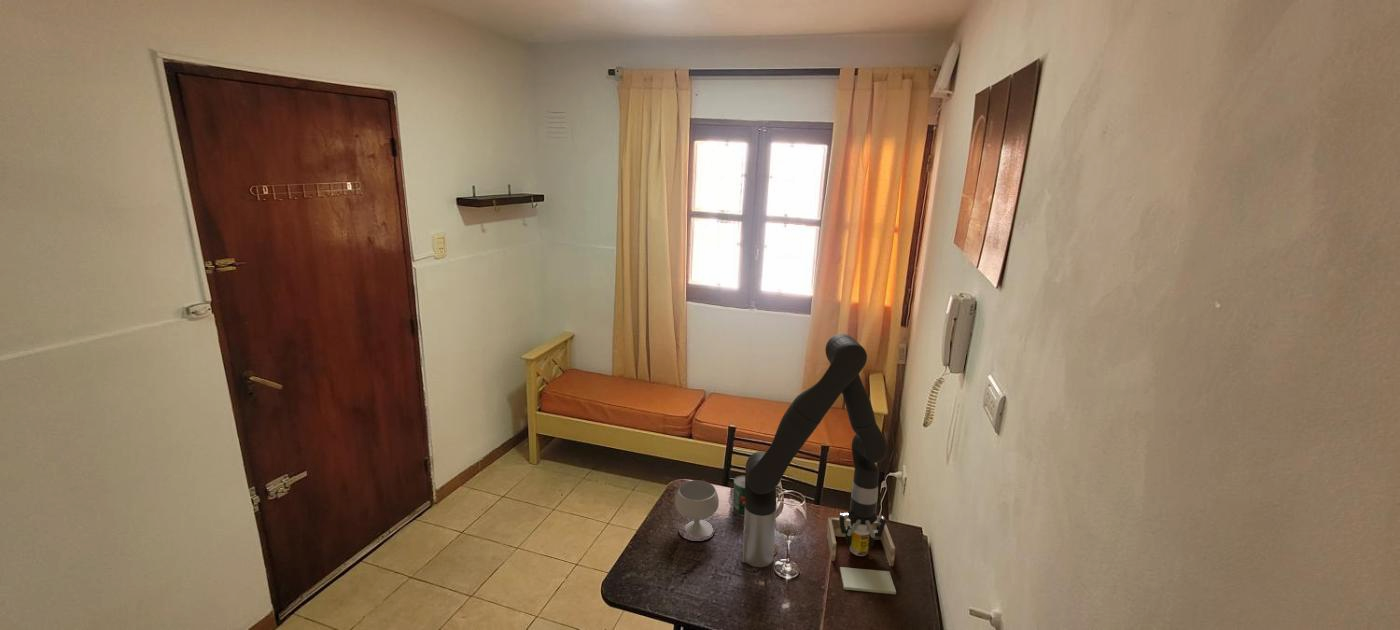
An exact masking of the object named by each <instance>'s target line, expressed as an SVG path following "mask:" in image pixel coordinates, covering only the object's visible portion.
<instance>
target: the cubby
mask: <svg viewBox="0 0 1400 630" xmlns="http://www.w3.org/2000/svg"><path fill="white" fill-rule="evenodd" d="M826 522H827V523H826V538H827V544H828V549H829V554H830V555H829V556H830V560H831V561H833V562H835V561H836V553H837V552H836V551H837V541H836V537H841V538H845V537H846V534H845V533H844V534H843V533H842V532H841V528H840V521H839V517H831V516H828V517H827V520H826ZM849 522H850V519H849V518H847V519H846V521H844V524H845V527H846V528H847V526H848V525H849ZM877 525H878V522H877V520H876V521H875V522H874V523H873V524H872V525H871V526H872V528H873V530H876V528H877ZM875 540H876V541H878V540H879V541H881V545H882V547H883V550H884V553H885V556H886V559H887V562H888V564H889V566H890V567H894V563H895V555H896V552H895V551H896V547H895V544H894V541H893V539H892V535H891V534H890V530H889V529H888V526H887V522H886V523H885V526H884V529H883V532H882V535H881V537H878V536H876V537H875V538H874V541H875Z"/></svg>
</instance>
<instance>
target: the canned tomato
mask: <svg viewBox="0 0 1400 630" xmlns="http://www.w3.org/2000/svg"><path fill="white" fill-rule="evenodd" d="M732 496H733V497H732V498H733V501H732V503H733V504H732V511H733V510H734V511H733V512H734V514H736V513H737V514H736V515H738V514H739V515H738V516H740V515H743V516H742V517H744V514H745V475H738V476H736V477H735V478H734V479H733V495H732Z"/></svg>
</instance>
